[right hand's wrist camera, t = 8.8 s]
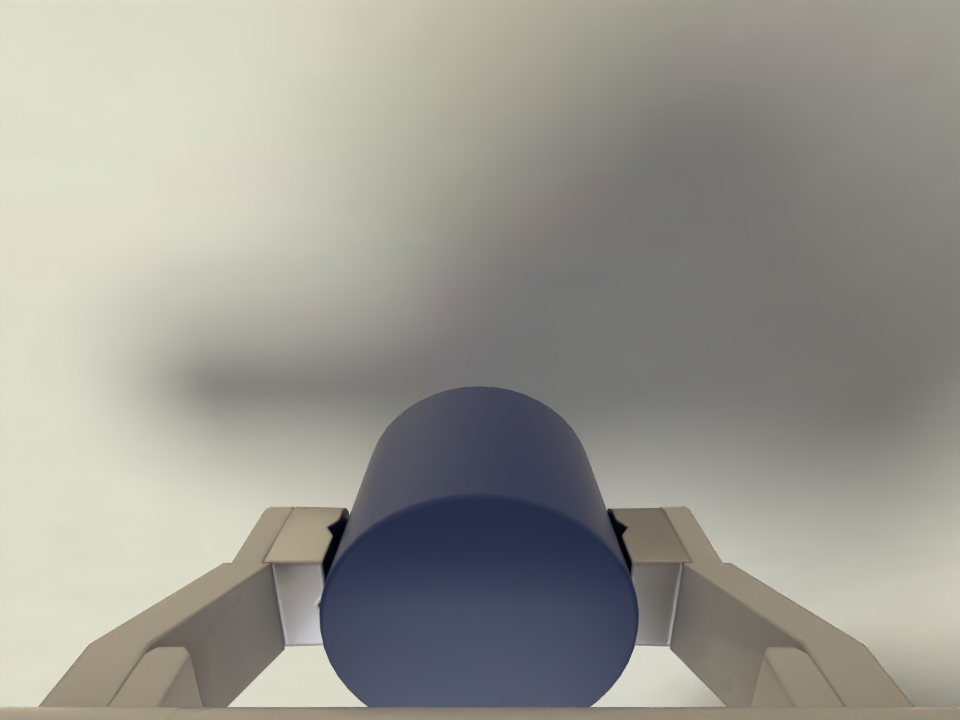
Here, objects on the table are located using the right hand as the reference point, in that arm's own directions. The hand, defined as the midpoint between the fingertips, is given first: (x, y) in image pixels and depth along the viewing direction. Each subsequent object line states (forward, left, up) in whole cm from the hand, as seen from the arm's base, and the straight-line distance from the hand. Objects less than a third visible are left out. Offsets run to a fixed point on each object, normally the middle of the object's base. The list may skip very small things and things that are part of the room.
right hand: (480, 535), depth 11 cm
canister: (0, 0, -2) cm, 2 cm away
